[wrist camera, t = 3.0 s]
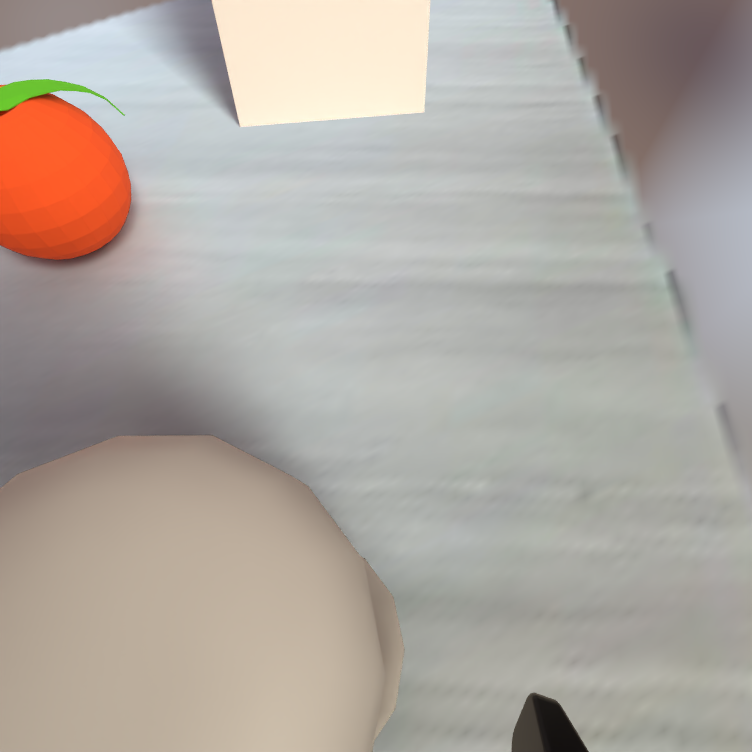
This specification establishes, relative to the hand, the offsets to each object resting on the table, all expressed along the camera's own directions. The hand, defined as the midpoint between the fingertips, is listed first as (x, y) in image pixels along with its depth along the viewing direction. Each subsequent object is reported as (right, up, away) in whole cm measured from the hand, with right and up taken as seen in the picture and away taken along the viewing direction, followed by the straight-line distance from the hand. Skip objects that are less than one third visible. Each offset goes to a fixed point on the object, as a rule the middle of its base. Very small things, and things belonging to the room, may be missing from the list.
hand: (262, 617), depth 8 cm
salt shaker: (0, -4, +7) cm, 8 cm away
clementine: (-12, +11, +16) cm, 23 cm away
